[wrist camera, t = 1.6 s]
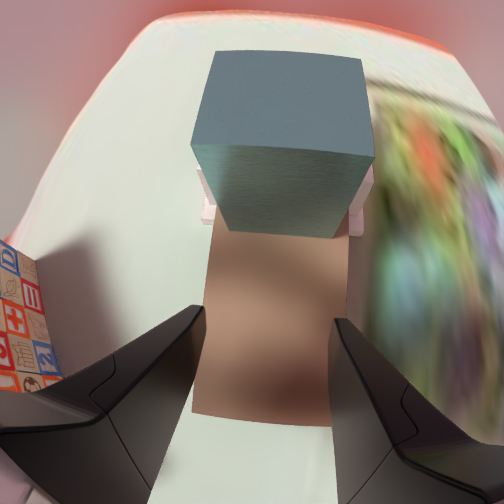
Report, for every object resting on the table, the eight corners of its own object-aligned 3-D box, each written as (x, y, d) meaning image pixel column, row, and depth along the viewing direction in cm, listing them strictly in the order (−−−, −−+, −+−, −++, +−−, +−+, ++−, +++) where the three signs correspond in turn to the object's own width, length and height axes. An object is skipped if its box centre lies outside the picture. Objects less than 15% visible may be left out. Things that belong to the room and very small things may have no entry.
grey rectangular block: (331, 239, 18) (375, 156, 9) (229, 230, 18) (190, 144, 10) (332, 164, 19) (361, 59, 10) (239, 157, 20) (215, 51, 11)
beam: (327, 406, 20) (341, 426, 15) (203, 394, 21) (183, 410, 16) (338, 112, 26) (347, 73, 21) (241, 105, 27) (235, 66, 22)
